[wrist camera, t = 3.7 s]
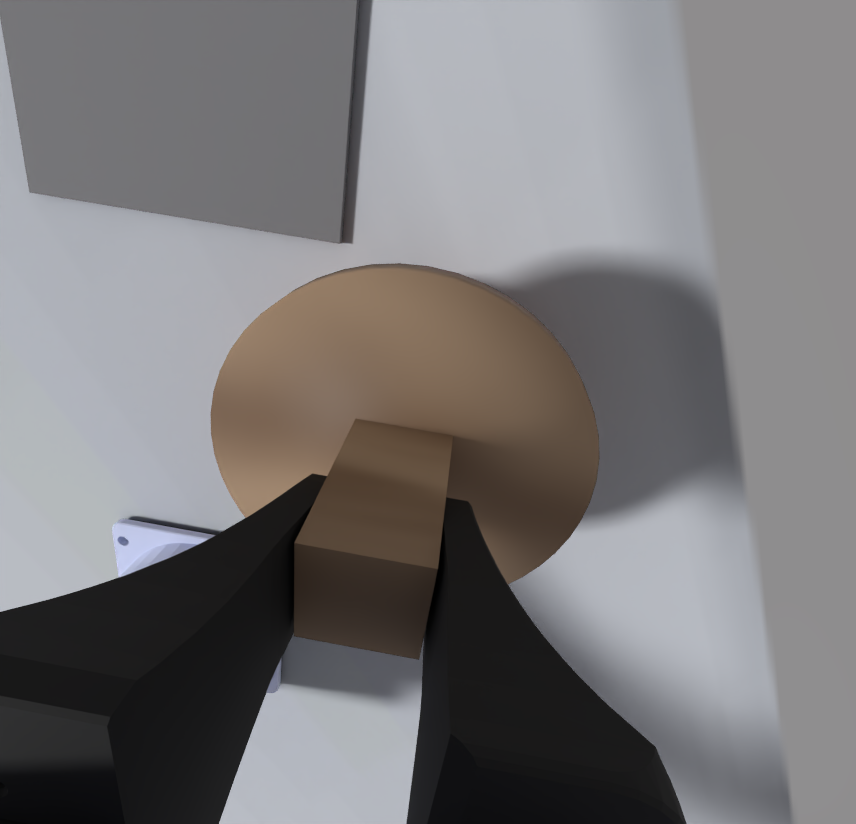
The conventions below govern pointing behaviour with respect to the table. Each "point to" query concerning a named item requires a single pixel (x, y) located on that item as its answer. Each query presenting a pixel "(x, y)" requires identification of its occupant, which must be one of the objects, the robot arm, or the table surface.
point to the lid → (402, 439)
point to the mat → (189, 106)
